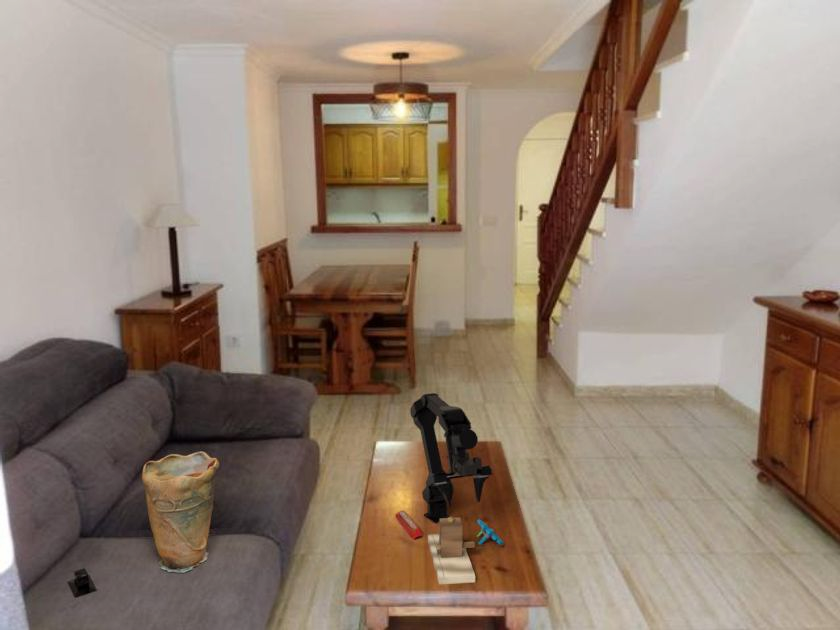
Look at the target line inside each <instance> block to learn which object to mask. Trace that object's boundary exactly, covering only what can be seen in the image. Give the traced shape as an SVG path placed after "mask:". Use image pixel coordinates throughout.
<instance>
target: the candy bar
mask: <svg viewBox="0 0 840 630" xmlns="http://www.w3.org/2000/svg"><path fill="white" fill-rule="evenodd" d="M394 516H395V519H396V521H397V523H399V525H400V526H401V528H403V530H406V531H405V532H406V533H407V534H408V536H409V537H410V538H411V539H412V538H413V540H415V539H417V538H419V537H422V536H423V533H422V530H421V529H420V528H419V526H418V524H417V523H416V522H415V521H414V520H413V519H412V518H411V517H410V515H409V514H408V513H407V512H406V511H405V510H400V511H399V512H396V513H395V515H394Z"/></svg>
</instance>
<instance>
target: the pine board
mask: <svg viewBox="0 0 840 630" xmlns="http://www.w3.org/2000/svg"><path fill="white" fill-rule="evenodd" d="M462 542H464V540H463V539H462ZM427 543H428V547H429V550H430V555H431V558H432V563H433V566H434V570H435V573H436V578H437V581H438V584H439V586H440V585H451V584H453V585H454V584H455V585H456V584H468V583H476V574H475V570H474V569H473V564H472V562H471V560H470V556H469V555H468V551H467V548H462V556H458V557H442V558H441V555H440V552H439V554H437V548H436V546H437V544H439V533H437V534H436V533H435V534H427Z"/></svg>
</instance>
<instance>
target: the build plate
mask: <svg viewBox="0 0 840 630" xmlns="http://www.w3.org/2000/svg"><path fill="white" fill-rule="evenodd" d="M66 584H68V587H69V589H70V591H71V593H72V595H73V597H74V599H76V598H80V597H82V596H85V595H88V594H89V595H90V594H92V593H94V592H97V591H98V589H97V587H96V585H95V583H94V582H93V579H92V577H91V575H90V574H89V573H88V571H87V569H86V567H84V568H81V569H77V570H75V571H73V579H71V580H69V581H68V580H67V583H66Z"/></svg>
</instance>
